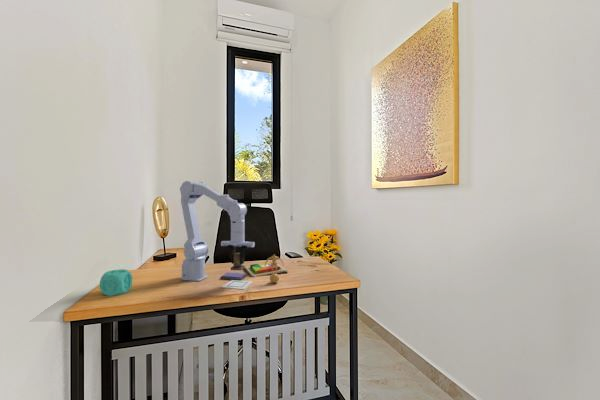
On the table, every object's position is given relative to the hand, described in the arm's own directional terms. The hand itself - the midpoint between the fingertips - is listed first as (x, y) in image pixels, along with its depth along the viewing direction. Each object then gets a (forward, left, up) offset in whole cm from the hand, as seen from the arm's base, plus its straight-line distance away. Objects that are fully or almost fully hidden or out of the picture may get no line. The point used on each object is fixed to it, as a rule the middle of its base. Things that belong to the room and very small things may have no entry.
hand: (237, 263), depth 119 cm
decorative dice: (-42, -19, -9) cm, 47 cm away
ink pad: (-6, +9, -9) cm, 14 cm away
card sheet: (0, 0, -9) cm, 9 cm away
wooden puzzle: (+4, +24, -10) cm, 26 cm away
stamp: (0, 0, -2) cm, 2 cm away
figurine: (+14, +7, -9) cm, 18 cm away
